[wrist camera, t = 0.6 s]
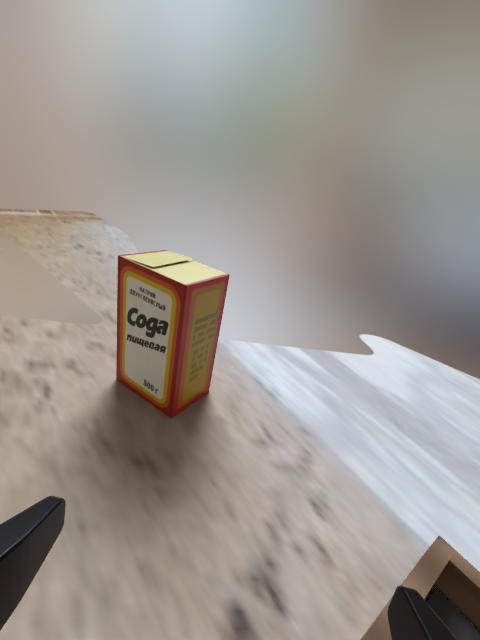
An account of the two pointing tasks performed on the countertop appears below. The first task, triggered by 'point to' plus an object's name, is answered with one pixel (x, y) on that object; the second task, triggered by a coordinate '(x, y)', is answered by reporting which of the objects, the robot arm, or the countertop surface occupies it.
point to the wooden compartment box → (453, 581)
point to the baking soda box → (168, 327)
